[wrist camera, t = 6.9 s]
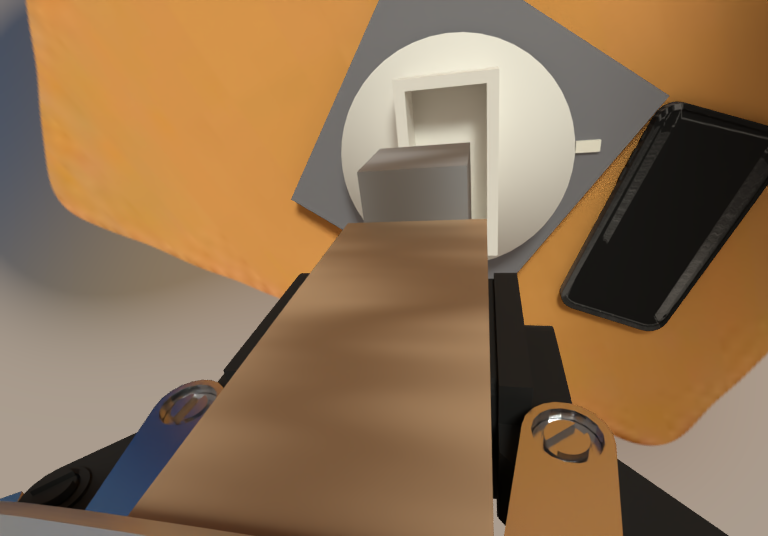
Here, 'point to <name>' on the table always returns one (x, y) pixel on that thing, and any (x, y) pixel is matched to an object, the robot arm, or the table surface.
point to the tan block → (360, 381)
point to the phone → (668, 215)
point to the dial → (471, 126)
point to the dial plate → (530, 33)
